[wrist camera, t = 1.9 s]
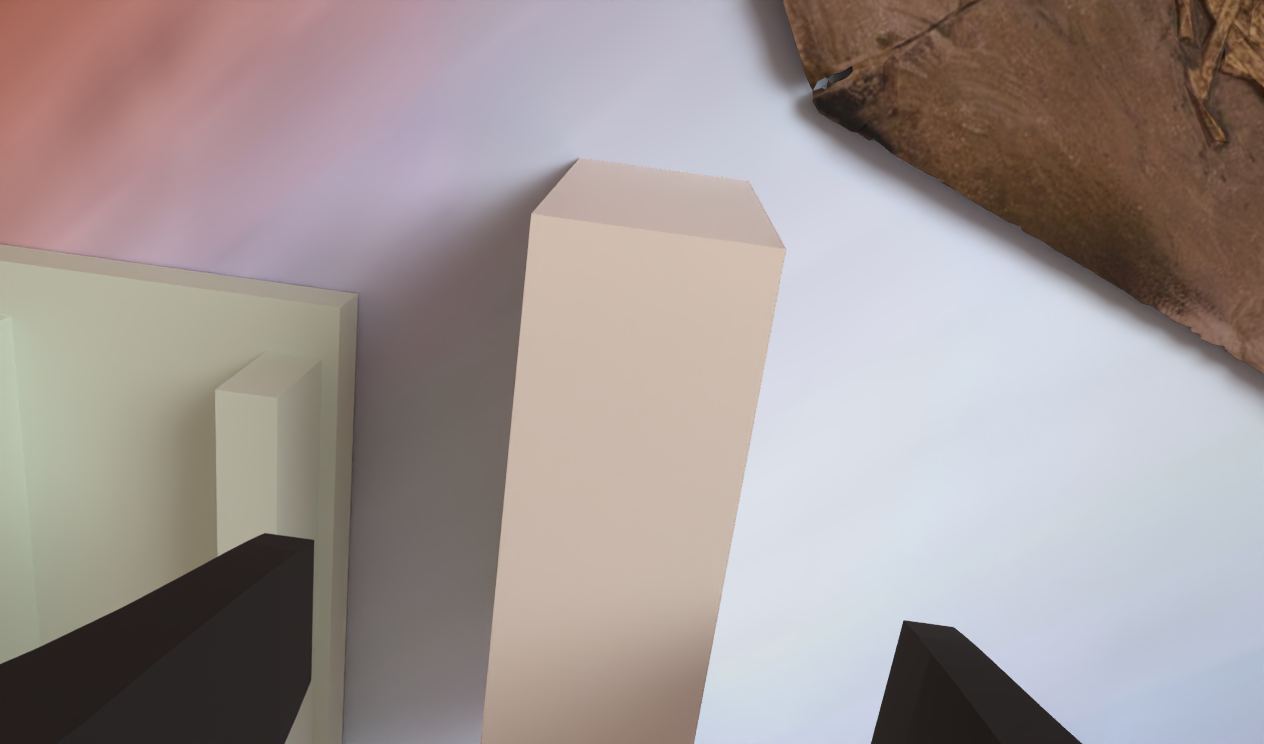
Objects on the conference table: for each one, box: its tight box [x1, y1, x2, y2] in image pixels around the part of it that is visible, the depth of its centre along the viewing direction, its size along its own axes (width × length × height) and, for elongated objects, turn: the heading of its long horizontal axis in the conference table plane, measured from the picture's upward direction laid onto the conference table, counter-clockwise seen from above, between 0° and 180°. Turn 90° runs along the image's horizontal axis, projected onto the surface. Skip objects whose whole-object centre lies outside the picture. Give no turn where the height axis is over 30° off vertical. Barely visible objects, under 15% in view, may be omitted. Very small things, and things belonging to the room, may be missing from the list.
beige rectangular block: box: [481, 158, 786, 744], centre depth 16 cm, size 10×3×6 cm, turn 173°
